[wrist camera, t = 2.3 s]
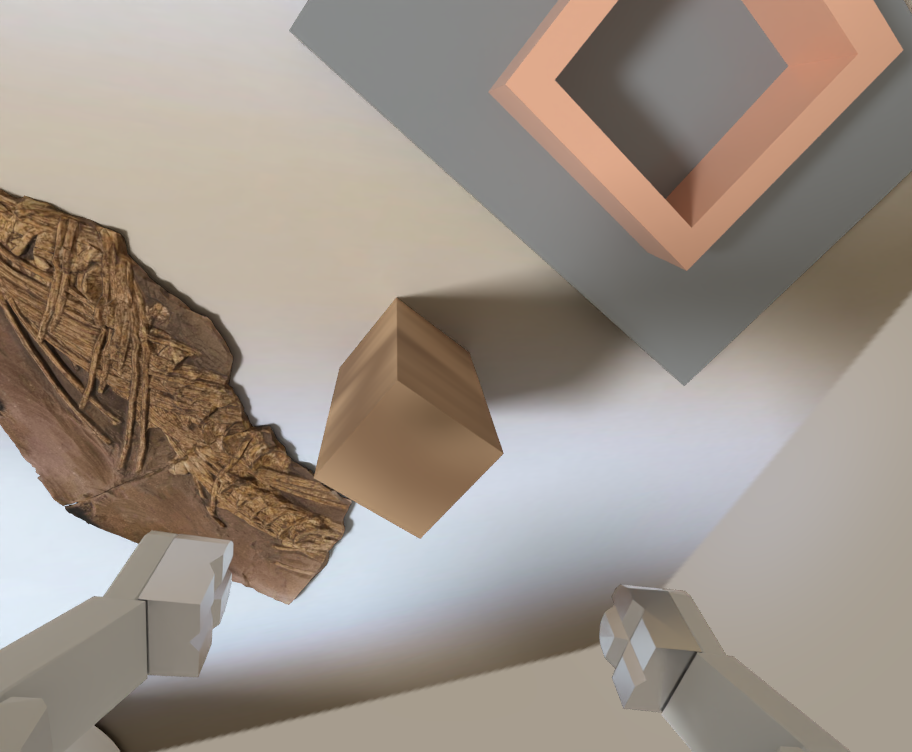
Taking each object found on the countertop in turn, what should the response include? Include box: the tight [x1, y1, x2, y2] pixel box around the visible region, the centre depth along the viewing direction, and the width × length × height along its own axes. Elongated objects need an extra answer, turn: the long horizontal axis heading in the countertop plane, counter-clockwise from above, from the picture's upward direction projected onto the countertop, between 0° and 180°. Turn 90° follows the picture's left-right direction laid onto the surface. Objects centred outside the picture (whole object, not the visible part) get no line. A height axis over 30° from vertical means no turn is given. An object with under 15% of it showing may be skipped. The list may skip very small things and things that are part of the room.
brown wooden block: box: [314, 298, 504, 538], centre depth 19 cm, size 4×4×8 cm
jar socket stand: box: [289, 0, 912, 386], centre depth 17 cm, size 14×20×4 cm
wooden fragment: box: [0, 189, 352, 605], centre depth 22 cm, size 26×11×1 cm, turn 27°
